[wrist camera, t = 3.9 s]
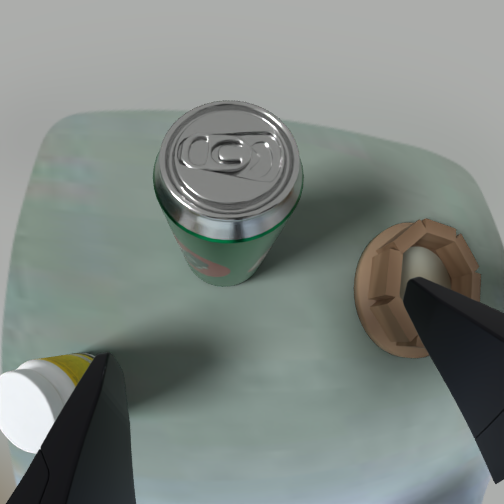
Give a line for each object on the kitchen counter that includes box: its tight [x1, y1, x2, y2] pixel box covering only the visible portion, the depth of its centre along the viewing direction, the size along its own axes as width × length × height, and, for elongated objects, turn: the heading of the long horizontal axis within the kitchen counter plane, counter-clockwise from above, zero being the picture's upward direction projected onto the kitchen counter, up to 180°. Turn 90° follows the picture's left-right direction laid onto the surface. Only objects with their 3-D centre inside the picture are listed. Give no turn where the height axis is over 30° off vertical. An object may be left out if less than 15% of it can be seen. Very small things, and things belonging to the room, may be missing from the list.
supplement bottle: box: [0, 353, 95, 453], centre depth 14 cm, size 5×5×8 cm
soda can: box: [153, 101, 304, 287], centre depth 15 cm, size 5×5×12 cm
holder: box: [354, 219, 481, 358], centre depth 20 cm, size 10×10×4 cm
